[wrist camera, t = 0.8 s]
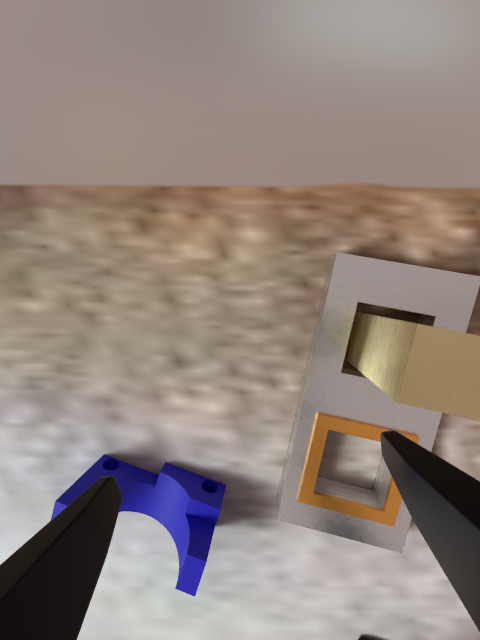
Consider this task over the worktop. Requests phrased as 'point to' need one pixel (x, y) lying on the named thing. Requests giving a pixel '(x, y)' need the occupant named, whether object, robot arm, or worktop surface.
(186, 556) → the blue curved block
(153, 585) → the worktop surface
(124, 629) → the worktop surface
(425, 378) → the beige rectangular block
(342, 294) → the grey plate with holes
